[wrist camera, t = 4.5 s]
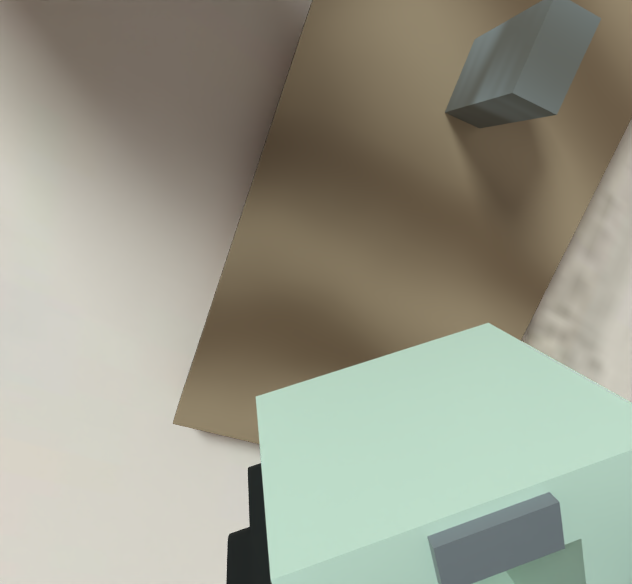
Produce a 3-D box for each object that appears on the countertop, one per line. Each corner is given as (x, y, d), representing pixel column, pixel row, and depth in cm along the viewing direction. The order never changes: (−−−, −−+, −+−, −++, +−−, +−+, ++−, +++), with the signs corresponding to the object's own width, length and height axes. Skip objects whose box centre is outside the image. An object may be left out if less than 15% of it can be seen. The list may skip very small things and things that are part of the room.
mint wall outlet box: (517, 512, 13) (700, 728, 8) (318, 585, 12) (375, 871, 7) (488, 322, 11) (697, 438, 6) (255, 396, 10) (271, 594, 5)
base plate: (433, 466, 21) (496, 567, 15) (178, 403, 18) (149, 500, 13) (647, 24, 17) (831, -44, 11) (360, -145, 14) (428, -337, 9)
